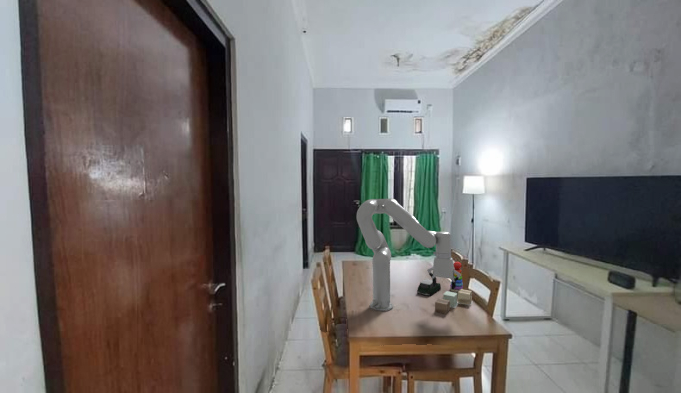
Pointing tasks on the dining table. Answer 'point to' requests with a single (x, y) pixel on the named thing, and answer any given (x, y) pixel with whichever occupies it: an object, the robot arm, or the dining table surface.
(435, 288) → the miniature car
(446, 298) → the sage block
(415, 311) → the dining table surface
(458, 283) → the stacking toy
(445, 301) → the walnut block
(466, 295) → the beech block
